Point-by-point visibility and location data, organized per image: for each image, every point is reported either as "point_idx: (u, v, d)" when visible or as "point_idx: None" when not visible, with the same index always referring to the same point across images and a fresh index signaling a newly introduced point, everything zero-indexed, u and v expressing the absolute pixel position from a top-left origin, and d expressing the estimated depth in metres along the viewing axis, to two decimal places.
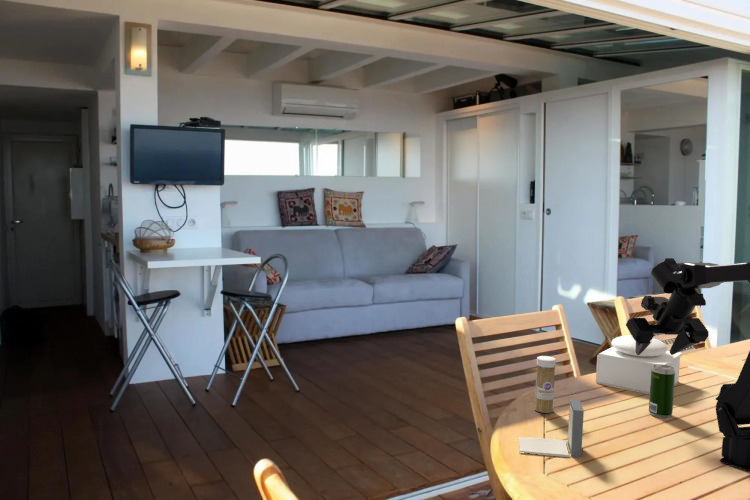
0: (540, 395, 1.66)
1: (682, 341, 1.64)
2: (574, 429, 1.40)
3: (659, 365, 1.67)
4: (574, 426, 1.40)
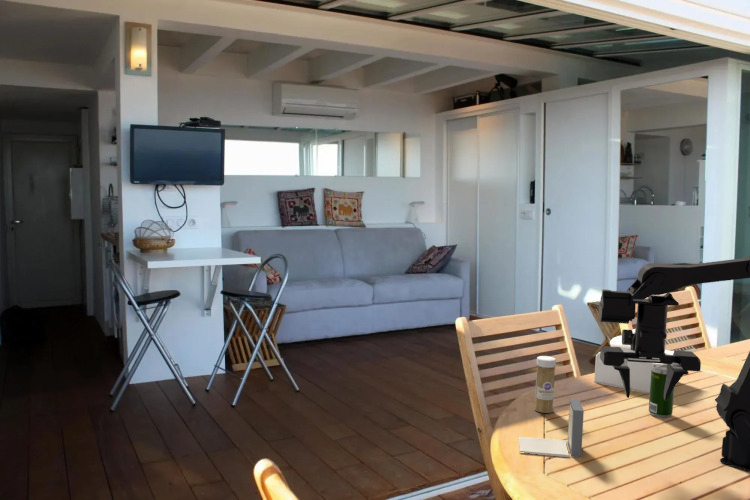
0: (540, 395, 1.66)
1: (669, 376, 1.39)
2: (574, 429, 1.40)
3: (659, 365, 1.67)
4: (574, 426, 1.40)
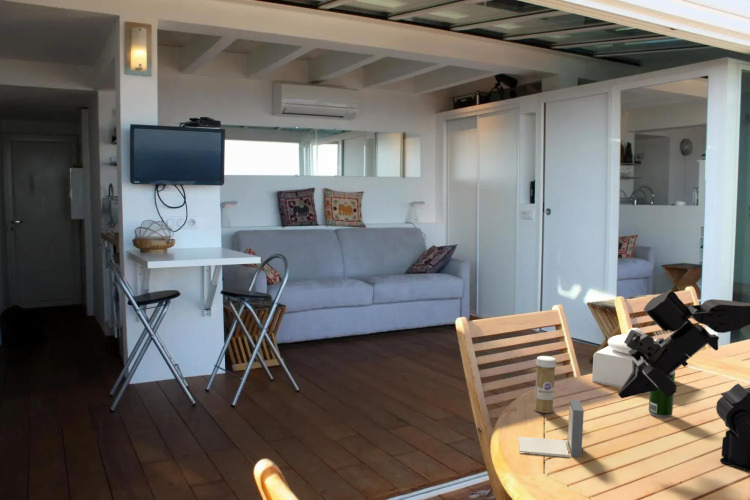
0: (540, 395, 1.66)
1: None
2: (574, 429, 1.40)
3: None
4: (574, 426, 1.40)
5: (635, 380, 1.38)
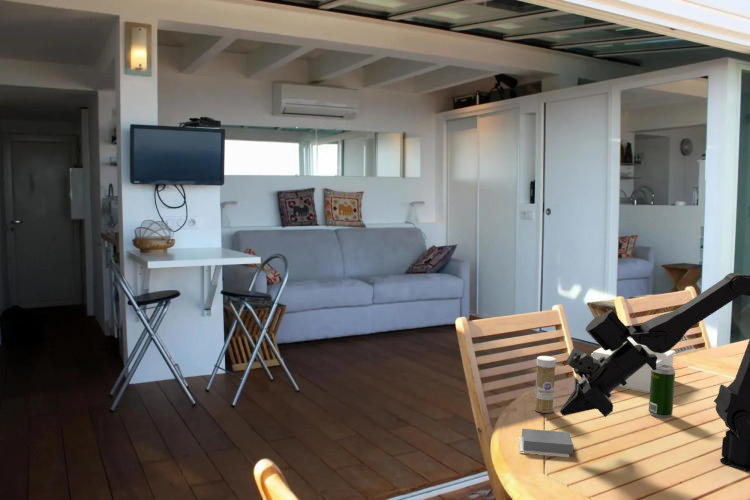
0: (540, 395, 1.66)
1: None
2: (543, 449, 1.41)
3: (659, 365, 1.67)
4: (540, 449, 1.42)
5: (576, 398, 1.41)
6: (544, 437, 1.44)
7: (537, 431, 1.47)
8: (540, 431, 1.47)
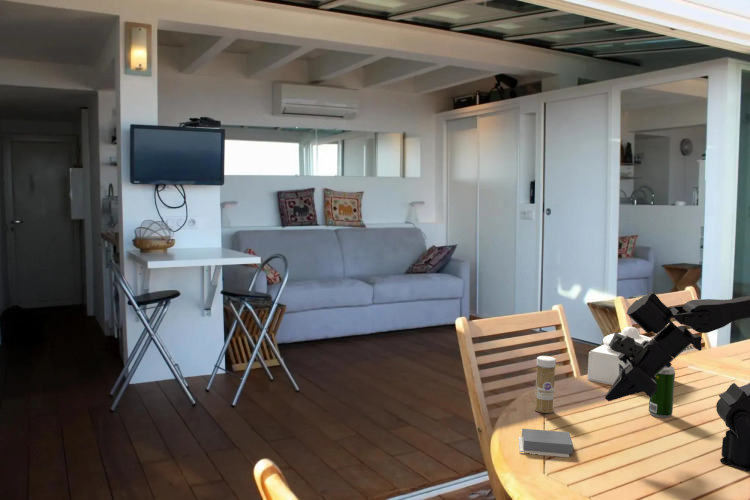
0: (540, 395, 1.66)
1: None
2: (543, 449, 1.41)
3: None
4: (540, 449, 1.42)
5: (620, 382, 1.40)
6: (544, 437, 1.44)
7: (537, 431, 1.47)
8: (540, 431, 1.47)
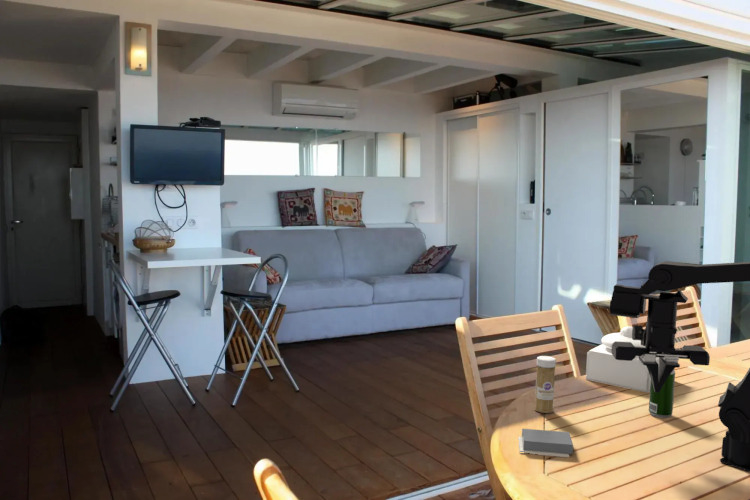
0: (540, 395, 1.66)
1: (661, 369, 1.44)
2: (543, 449, 1.41)
3: None
4: (540, 449, 1.42)
5: (647, 368, 1.47)
6: (544, 437, 1.44)
7: (537, 431, 1.47)
8: (540, 431, 1.47)
